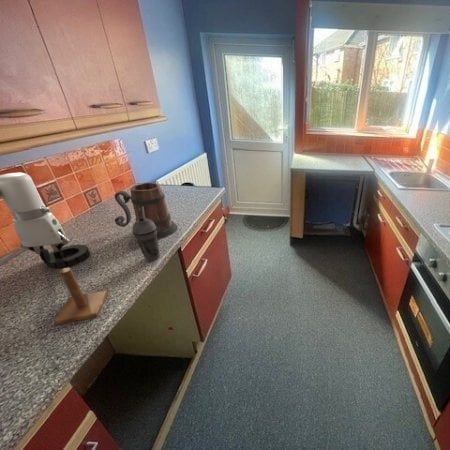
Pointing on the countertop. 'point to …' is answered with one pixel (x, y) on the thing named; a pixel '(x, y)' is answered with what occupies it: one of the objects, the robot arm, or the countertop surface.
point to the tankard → (147, 207)
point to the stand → (79, 301)
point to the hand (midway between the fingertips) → (54, 260)
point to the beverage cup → (147, 237)
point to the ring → (69, 261)
